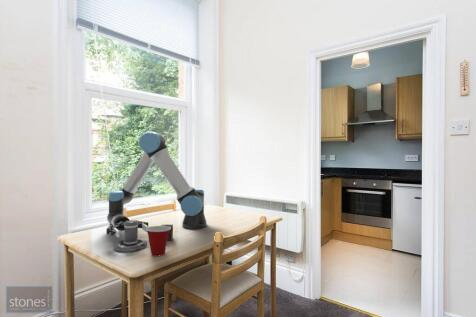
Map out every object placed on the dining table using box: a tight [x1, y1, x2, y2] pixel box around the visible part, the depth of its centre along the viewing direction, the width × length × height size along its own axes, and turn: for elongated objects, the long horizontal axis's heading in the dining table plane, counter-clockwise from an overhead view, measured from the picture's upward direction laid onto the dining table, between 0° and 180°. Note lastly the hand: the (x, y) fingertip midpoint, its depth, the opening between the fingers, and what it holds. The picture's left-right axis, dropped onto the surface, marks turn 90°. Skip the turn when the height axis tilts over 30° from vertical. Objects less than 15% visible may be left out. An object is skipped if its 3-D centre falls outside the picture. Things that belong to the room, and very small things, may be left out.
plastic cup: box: [146, 225, 171, 257], centre depth 117 cm, size 11×11×12 cm
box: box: [160, 224, 174, 242], centre depth 136 cm, size 6×6×7 cm
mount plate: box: [113, 238, 148, 253], centre depth 125 cm, size 15×15×2 cm
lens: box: [123, 219, 139, 246], centre depth 125 cm, size 6×6×11 cm
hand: (133, 231), depth 123 cm, fingers open, 13 cm apart
